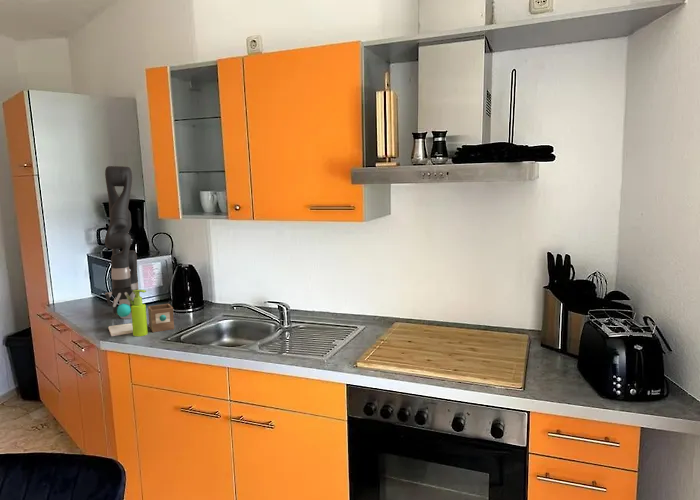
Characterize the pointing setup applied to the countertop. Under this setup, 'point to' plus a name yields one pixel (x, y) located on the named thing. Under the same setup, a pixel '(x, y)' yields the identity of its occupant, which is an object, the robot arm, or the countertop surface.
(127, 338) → the countertop surface
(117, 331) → the dish
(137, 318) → the soap dispenser
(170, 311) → the box
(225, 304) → the countertop surface
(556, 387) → the countertop surface
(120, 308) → the ball
